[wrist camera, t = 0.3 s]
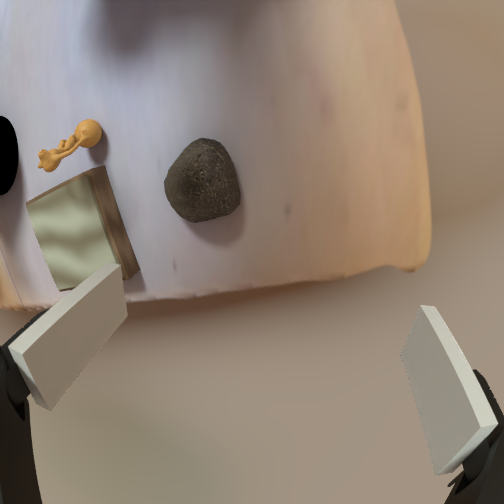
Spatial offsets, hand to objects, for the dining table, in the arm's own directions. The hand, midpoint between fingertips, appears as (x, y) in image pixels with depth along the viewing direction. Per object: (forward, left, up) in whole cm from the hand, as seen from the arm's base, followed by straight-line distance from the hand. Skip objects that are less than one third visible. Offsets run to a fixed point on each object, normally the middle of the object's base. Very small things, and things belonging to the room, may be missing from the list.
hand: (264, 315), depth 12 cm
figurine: (-14, -23, -26) cm, 38 cm away
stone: (-4, -9, -26) cm, 28 cm away
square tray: (-2, -31, -26) cm, 40 cm away
